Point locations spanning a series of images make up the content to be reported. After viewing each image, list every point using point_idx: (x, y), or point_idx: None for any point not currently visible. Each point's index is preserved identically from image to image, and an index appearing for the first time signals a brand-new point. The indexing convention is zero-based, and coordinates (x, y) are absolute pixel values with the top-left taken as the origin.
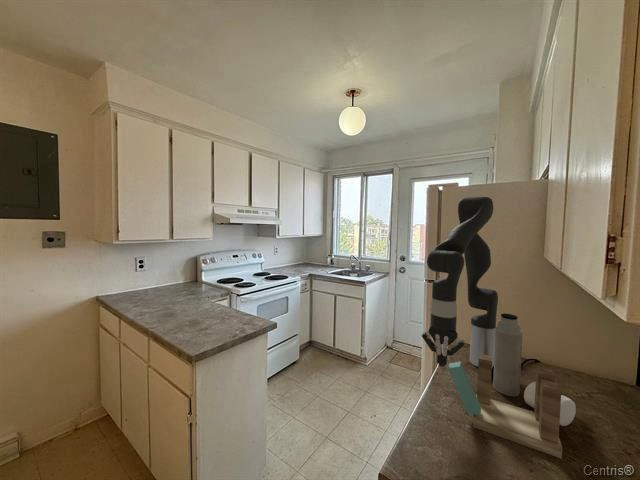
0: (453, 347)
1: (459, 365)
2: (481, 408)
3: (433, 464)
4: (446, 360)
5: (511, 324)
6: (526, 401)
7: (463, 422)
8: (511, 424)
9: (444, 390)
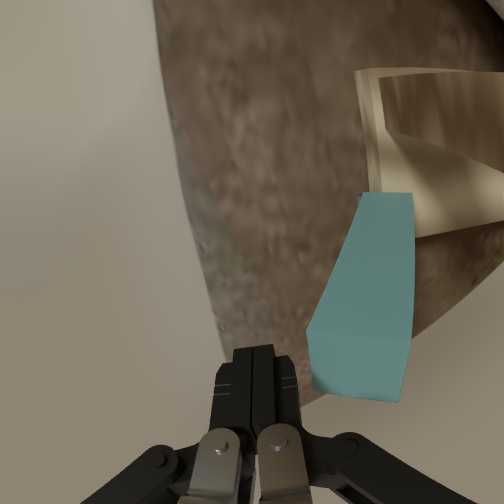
0: (374, 496)
1: (396, 392)
2: (405, 165)
3: (307, 389)
4: (300, 414)
5: None
6: (493, 6)
7: (343, 226)
8: (480, 196)
9: (220, 67)
